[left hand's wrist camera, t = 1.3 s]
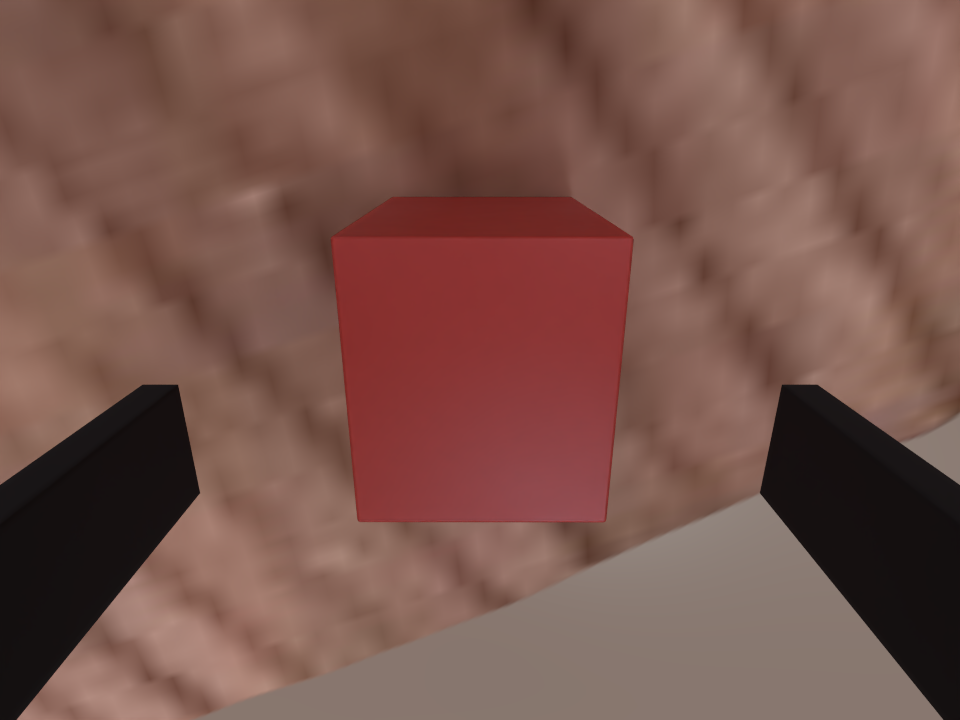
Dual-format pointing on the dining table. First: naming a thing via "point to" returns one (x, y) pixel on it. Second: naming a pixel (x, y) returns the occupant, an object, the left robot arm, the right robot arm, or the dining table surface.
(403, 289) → the block
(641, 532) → the dining table surface
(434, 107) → the dining table surface
